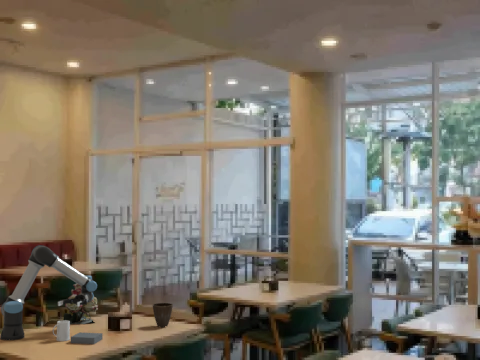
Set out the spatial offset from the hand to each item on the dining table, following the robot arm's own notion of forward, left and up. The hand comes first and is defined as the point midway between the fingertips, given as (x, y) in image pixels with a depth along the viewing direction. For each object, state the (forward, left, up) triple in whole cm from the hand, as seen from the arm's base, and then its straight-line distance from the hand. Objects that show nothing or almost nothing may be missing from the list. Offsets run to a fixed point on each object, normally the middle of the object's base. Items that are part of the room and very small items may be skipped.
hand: (67, 304), depth 395 cm
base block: (+18, -10, -22) cm, 30 cm away
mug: (0, -10, -22) cm, 24 cm away
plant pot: (+53, +47, -22) cm, 74 cm away
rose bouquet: (-13, +53, -22) cm, 59 cm away
